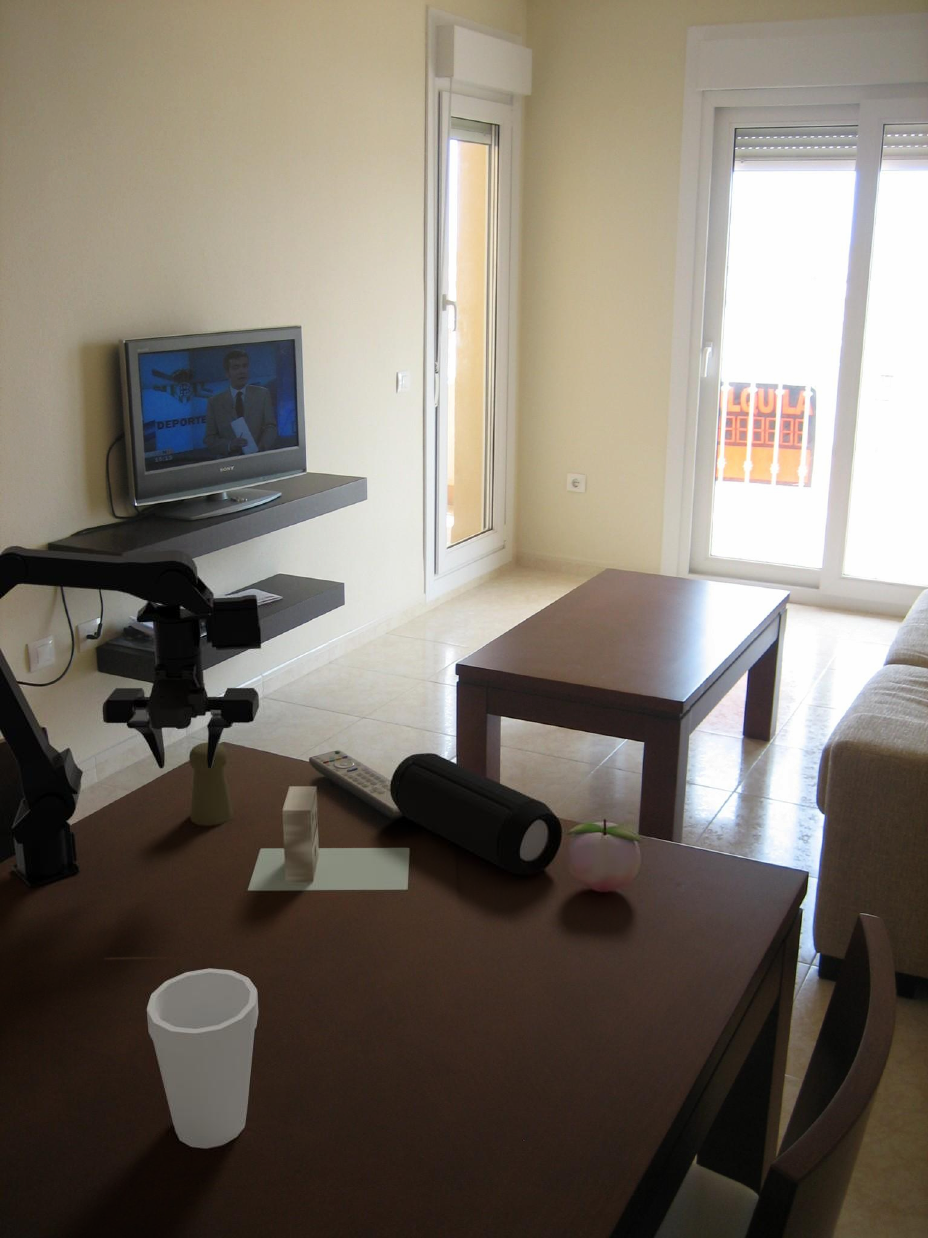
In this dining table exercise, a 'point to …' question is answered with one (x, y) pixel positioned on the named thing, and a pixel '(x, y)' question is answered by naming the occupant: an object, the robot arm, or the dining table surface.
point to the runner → (337, 870)
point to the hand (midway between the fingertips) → (186, 767)
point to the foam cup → (205, 1051)
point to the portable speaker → (477, 813)
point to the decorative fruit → (603, 855)
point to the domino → (300, 834)
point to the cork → (209, 787)
